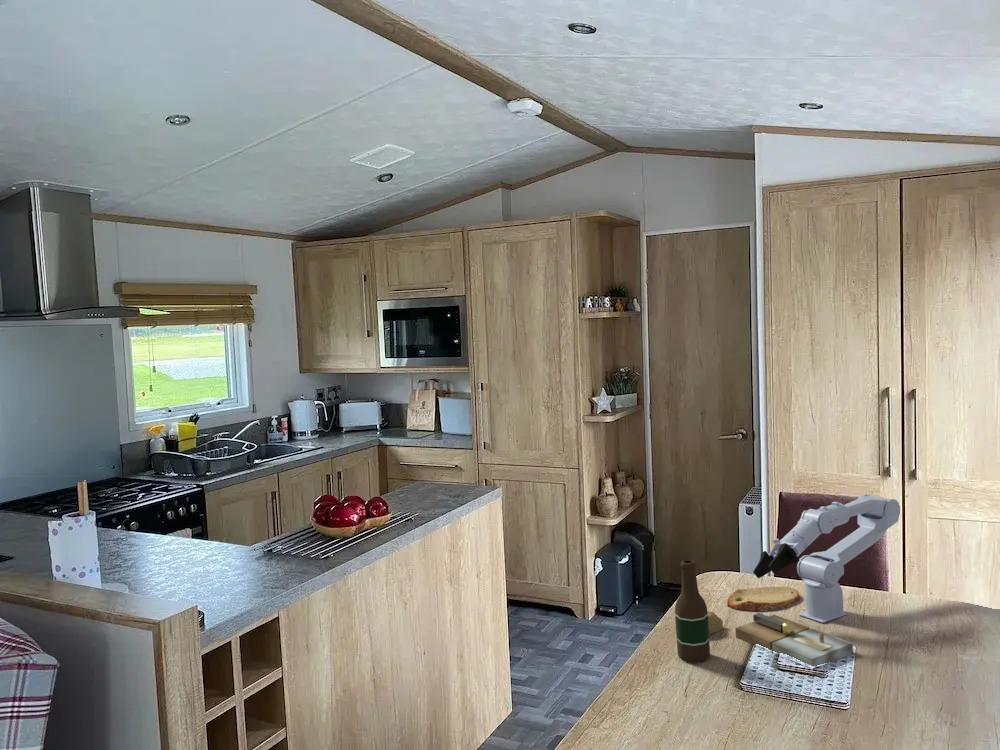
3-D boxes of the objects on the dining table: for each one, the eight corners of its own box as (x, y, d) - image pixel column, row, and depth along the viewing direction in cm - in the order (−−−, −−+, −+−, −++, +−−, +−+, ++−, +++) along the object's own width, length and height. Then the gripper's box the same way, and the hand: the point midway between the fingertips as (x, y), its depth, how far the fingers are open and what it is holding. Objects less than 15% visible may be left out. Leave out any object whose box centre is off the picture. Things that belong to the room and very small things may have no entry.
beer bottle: (711, 664, 193) (705, 566, 192) (678, 663, 195) (671, 566, 193) (709, 650, 201) (703, 556, 199) (677, 650, 203) (671, 556, 201)
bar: (797, 633, 200) (796, 623, 200) (789, 636, 199) (788, 626, 199) (760, 620, 211) (759, 610, 211) (752, 622, 209) (752, 612, 209)
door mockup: (774, 623, 214) (773, 606, 214) (852, 653, 193) (851, 633, 193) (735, 637, 207) (734, 619, 207) (812, 669, 186) (811, 649, 186)
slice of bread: (803, 595, 233) (803, 583, 233) (789, 618, 218) (788, 604, 218) (741, 588, 243) (740, 576, 242) (723, 609, 228) (722, 597, 227)
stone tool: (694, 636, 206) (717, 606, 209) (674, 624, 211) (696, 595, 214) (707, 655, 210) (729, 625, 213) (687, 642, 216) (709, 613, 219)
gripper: (771, 534, 219) (739, 564, 213) (801, 522, 206) (767, 554, 200) (789, 555, 217) (757, 586, 212) (820, 545, 204) (787, 577, 199)
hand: (763, 572), depth 206 cm, fingers open, 7 cm apart
